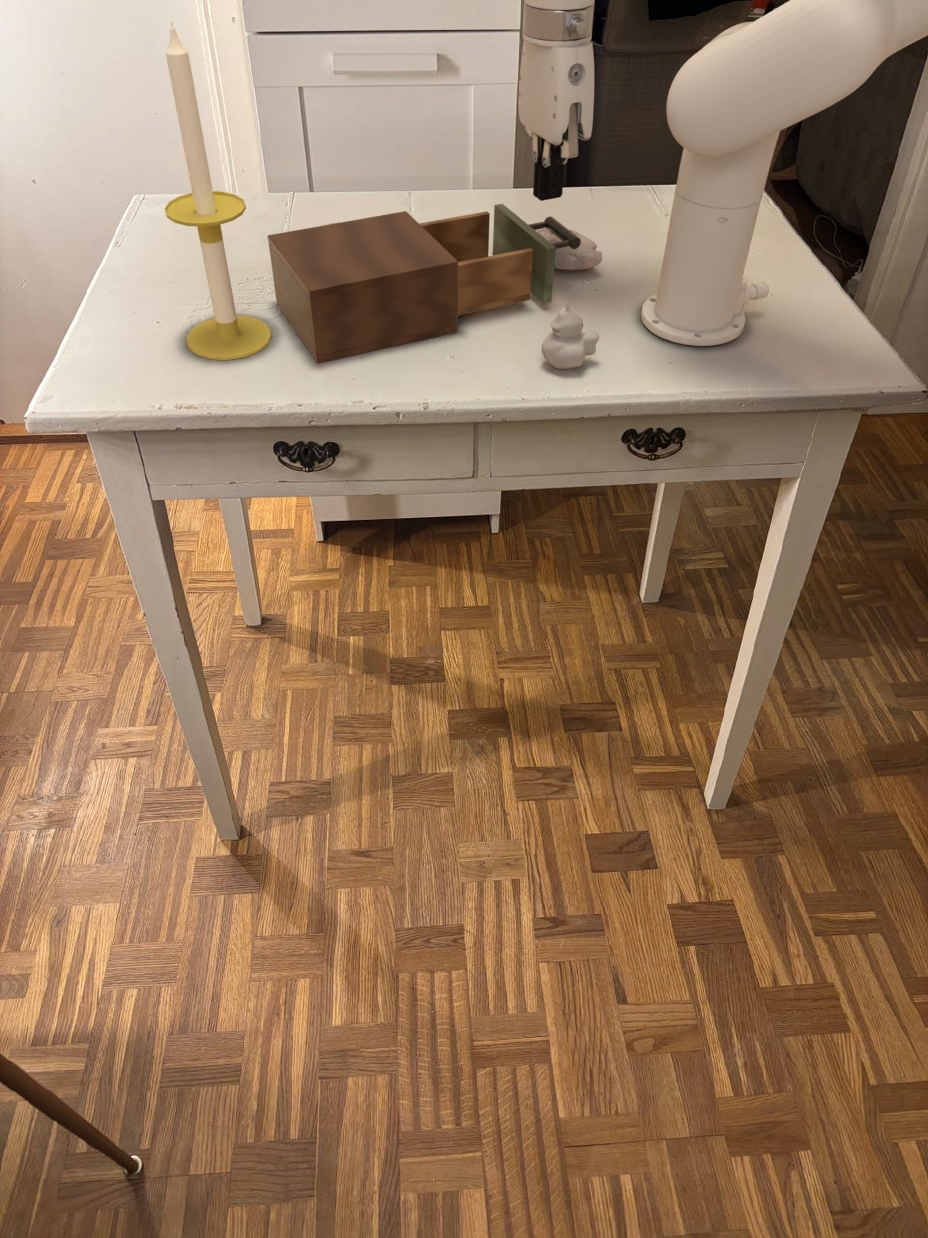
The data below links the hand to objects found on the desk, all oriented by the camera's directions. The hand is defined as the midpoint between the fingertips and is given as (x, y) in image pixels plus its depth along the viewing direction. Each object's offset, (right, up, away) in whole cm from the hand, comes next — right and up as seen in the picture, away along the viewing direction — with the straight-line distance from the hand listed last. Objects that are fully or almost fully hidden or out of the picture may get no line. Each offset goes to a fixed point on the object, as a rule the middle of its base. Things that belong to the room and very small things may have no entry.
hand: (547, 196), depth 113 cm
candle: (-38, -18, -3) cm, 42 cm away
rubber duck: (+2, -22, -6) cm, 23 cm away
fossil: (+3, -3, +12) cm, 13 cm away
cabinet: (-22, -15, +1) cm, 27 cm away
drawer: (-7, -9, +5) cm, 13 cm away
